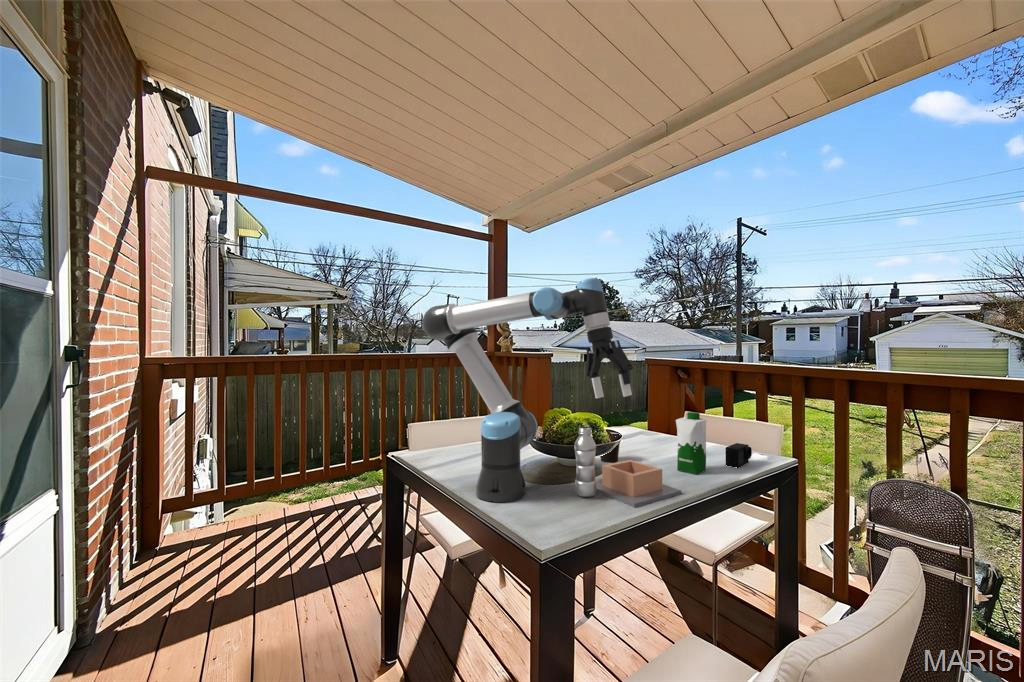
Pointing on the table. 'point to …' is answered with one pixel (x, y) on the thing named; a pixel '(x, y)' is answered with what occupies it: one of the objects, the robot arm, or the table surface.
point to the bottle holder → (634, 483)
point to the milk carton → (691, 443)
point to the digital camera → (738, 455)
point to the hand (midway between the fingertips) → (613, 396)
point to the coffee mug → (611, 454)
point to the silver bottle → (585, 463)
